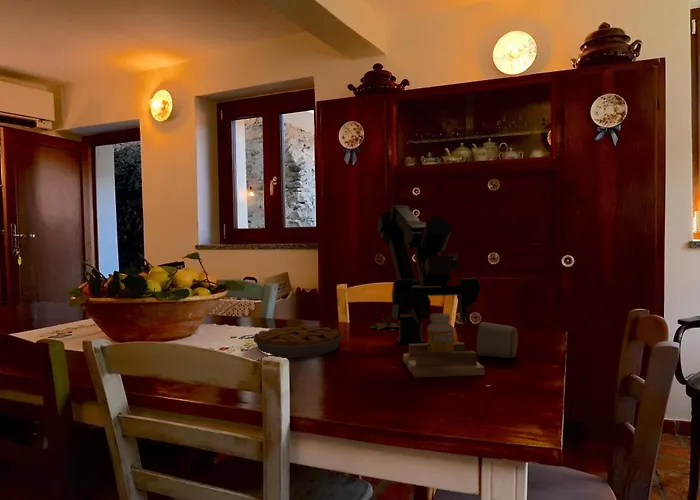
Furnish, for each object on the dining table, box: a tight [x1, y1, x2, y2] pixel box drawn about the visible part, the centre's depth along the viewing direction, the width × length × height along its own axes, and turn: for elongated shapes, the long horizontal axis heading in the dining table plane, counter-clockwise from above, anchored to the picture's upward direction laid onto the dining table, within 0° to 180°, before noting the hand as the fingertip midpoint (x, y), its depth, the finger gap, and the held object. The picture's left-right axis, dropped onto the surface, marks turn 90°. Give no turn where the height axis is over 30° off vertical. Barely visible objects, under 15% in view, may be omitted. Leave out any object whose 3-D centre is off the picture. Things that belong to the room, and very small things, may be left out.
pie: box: [253, 324, 343, 359], centre depth 128 cm, size 22×22×5 cm
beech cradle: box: [402, 341, 486, 378], centre depth 107 cm, size 14×14×4 cm
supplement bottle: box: [426, 312, 454, 352], centre depth 107 cm, size 5×5×10 cm
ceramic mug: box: [476, 321, 519, 359], centre depth 117 cm, size 11×8×8 cm
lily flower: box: [368, 313, 399, 331], centre depth 155 cm, size 12×12×5 cm
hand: (442, 323), depth 106 cm, fingers open, 9 cm apart
